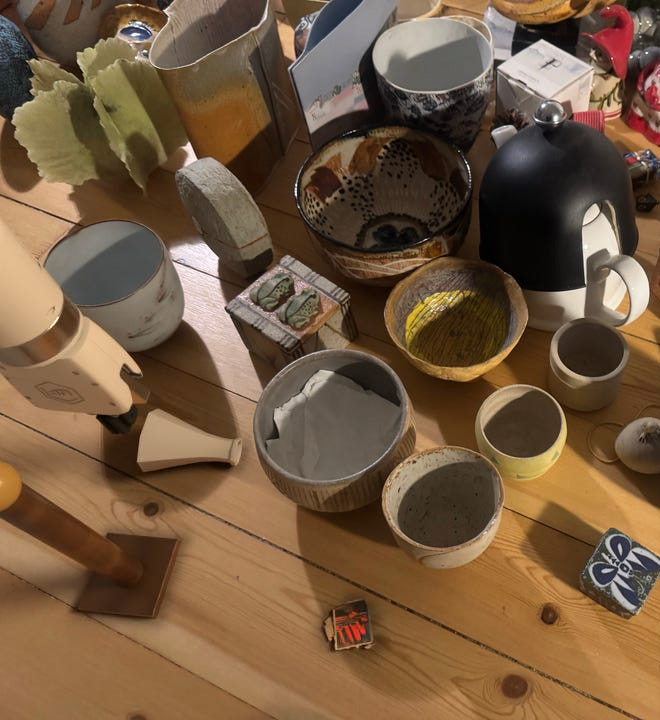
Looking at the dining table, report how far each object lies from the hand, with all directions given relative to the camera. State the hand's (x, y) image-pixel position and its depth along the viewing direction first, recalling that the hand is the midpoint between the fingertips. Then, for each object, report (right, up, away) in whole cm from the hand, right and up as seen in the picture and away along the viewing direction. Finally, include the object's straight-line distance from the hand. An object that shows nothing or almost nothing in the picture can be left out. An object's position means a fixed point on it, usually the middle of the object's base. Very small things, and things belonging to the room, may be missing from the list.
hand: (125, 422), depth 76 cm
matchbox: (+25, -20, -4) cm, 32 cm away
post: (+1, -16, -1) cm, 16 cm away
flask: (+1, -2, +4) cm, 4 cm away
